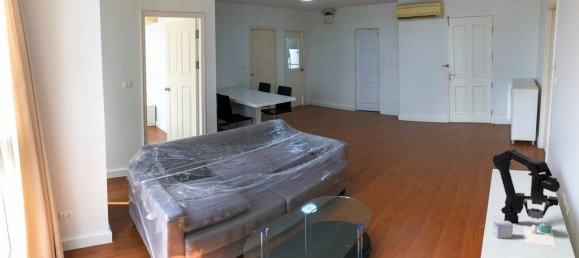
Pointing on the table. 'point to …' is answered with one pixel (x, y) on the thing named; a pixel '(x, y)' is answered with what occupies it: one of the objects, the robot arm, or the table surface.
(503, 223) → the medicine box
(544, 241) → the gear board
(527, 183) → the table surface
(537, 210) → the gear
